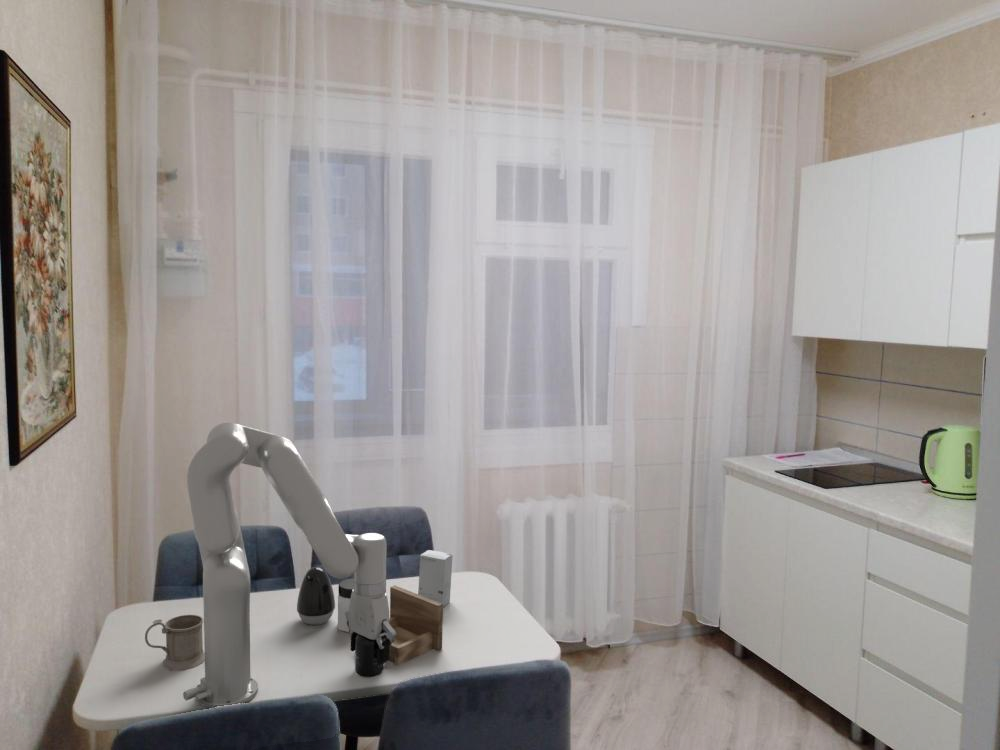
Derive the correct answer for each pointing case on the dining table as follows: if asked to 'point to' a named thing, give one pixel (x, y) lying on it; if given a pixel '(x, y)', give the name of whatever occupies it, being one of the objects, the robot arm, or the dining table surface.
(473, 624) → the dining table surface
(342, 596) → the jar
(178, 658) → the mug
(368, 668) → the supplement bottle
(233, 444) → the robot arm
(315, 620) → the black aroma diffuser
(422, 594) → the skincare box
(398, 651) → the brown open boxy piece
